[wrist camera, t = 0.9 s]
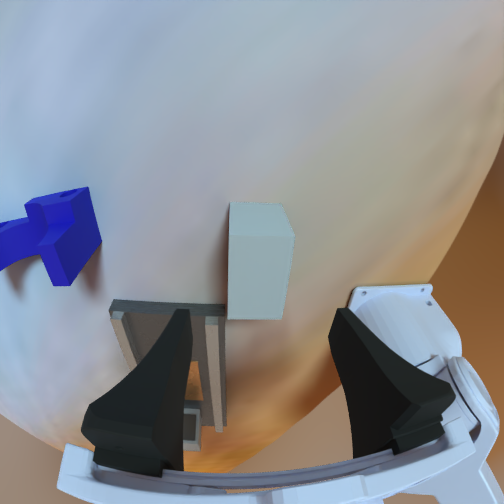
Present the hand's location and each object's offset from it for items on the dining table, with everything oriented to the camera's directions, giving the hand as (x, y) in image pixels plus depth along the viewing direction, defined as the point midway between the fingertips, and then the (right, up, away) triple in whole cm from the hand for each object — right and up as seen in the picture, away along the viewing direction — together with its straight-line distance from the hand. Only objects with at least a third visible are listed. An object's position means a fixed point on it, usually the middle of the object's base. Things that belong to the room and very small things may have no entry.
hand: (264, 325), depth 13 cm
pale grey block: (0, +4, +7) cm, 8 cm away
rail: (-8, -10, +15) cm, 20 cm away
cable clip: (-18, +6, +5) cm, 20 cm away
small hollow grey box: (-9, -17, +17) cm, 26 cm away
